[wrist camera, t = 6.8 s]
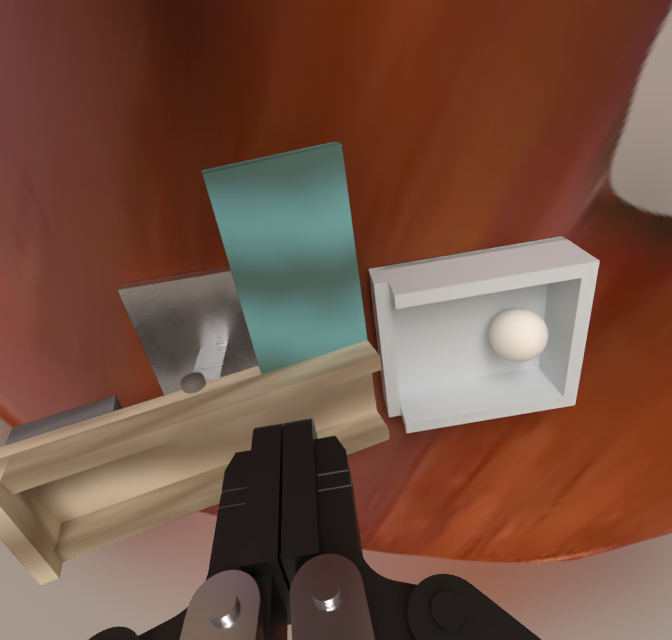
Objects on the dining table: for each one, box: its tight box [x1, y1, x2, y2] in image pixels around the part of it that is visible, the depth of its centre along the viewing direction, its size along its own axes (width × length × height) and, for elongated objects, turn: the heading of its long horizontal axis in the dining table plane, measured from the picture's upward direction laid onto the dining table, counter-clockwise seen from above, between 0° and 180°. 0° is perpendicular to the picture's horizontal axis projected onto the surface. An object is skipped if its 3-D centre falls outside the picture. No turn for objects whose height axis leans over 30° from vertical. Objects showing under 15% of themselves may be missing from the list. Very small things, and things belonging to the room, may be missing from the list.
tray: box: [368, 236, 599, 433], centre depth 33 cm, size 12×14×4 cm
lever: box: [0, 142, 390, 585], centre depth 25 cm, size 20×22×6 cm
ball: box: [489, 308, 548, 362], centre depth 33 cm, size 4×4×4 cm
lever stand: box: [118, 266, 258, 395], centre depth 32 cm, size 16×10×6 cm, turn 8°
